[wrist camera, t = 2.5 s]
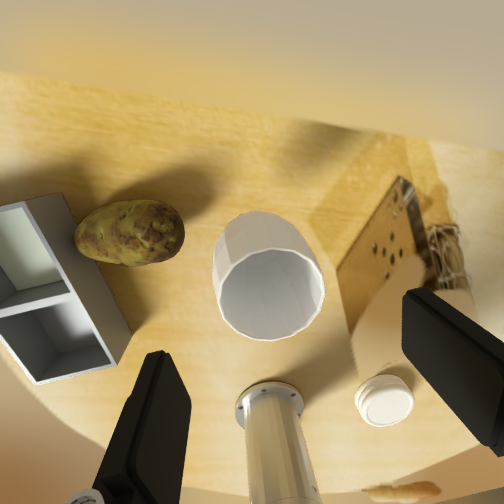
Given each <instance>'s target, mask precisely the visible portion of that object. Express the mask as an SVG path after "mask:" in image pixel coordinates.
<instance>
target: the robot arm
mask: <svg viewBox="0 0 504 504" xmlns="http://www.w3.org/2000/svg"><path fill="white" fill-rule="evenodd" d="M402 300H403V301H402V350H403V353H404V355H405V356H406V357H407V358H408V360H409V361H410V362H411V363H412V364H413V365H414V367H415V368H416V369H417V370H418V371H419V372H420V374H421V375H422V376H423V377H424V378H425V379H426V380H427V382H428V383H429V384H430V385H431V386H432V387H433V389H434V390H435V391H436V392H437V393H438V394H439V396H440V397H441V398H442V399H443V400H444V401H445V403H446V404H447V405H448V406H449V407H450V408H451V409H452V411H453V412H454V413H455V414H456V415H457V416H458V418H459V419H460V420H461V421H462V422H463V423H464V425H465V426H466V427H467V428H468V429H469V430H470V432H471V433H472V434H473V435H474V436H475V437H476V439H477V440H478V441H479V442H480V443H481V444H483V445H484V446H489V447H490V449H491V450H492V451H493V452H494V453H495V454H496V455H497V456H498V457H501V456H504V342H502V341H501V340H499V339H498V338H497V337H495V336H494V335H492V334H491V333H490V332H488V331H487V330H485V329H484V328H482V327H481V326H480V325H478V324H477V323H475V322H474V321H472V320H471V319H470V318H468V317H467V316H465V315H464V314H462V313H461V312H460V311H458V310H456V309H455V308H454V307H452V306H451V305H450V304H448V303H447V302H445V301H444V300H443V299H441V298H440V297H438V296H437V295H435V294H434V293H433V292H431V291H430V290H428V289H427V288H425V287H419V288H415V289H411V290H408V291H407V292H406V295H404V296H403V299H402ZM191 407H192V406H191V399H190V396H189V394H188V392H187V390H186V388H185V386H184V384H183V381H182V379H181V377H180V375H179V373H178V371H177V368H176V366H175V364H174V362H173V360H172V358H171V356H170V354H169V353H165V352H164V351H163V350H161V351H156V352H152V353H148V354H147V355H146V357H145V359H144V362H143V365H142V367H141V370H140V373H139V375H138V378H137V380H136V383H135V386H134V388H133V391H132V393H131V395H130V396H129V397H128V398H127V400H126V402H125V405H124V407H123V410H122V412H121V415H120V417H119V420H118V422H117V425H116V427H115V430H114V433H113V435H112V438H111V440H110V443H109V445H108V448H107V450H106V453H105V455H104V458H103V460H102V463H101V466H100V468H99V471H98V473H97V476H96V478H95V481H94V483H93V486H92V488H91V489H86V490H83V491H81V492H79V493H77V494H75V495H74V496H72V497H71V498H70V499H69V500H67V501H66V502H65V503H64V504H179V500H180V492H181V485H182V477H183V469H184V462H185V454H186V446H187V439H188V431H189V424H190V416H191ZM303 410H304V402H303V399H302V396H301V394H300V392H299V391H298V390H297V389H296V388H294V387H293V386H291V385H289V384H287V383H283V382H275V381H273V382H264V383H260V384H257V385H255V386H253V387H251V388H249V389H248V390H246V391H245V392H244V393H243V394H242V395H241V396H240V397H239V399H238V400H237V403H236V406H235V417H236V420H237V422H238V424H239V425H240V426H241V427H242V428H243V429H245V439H246V454H247V470H248V485H249V499H250V504H322V501H321V497H320V493H319V490H318V486H317V482H316V479H315V475H314V471H313V468H312V464H311V460H310V457H309V453H308V449H307V446H306V442H305V438H304V435H303V431H302V427H301V424H300V420H299V419H300V417H301V416H302V413H303ZM435 504H504V487H502V488H498V489H493V490H489V491H485V492H481V493H477V494H472V495H468V496H464V497H460V498H456V499H452V500H447V501H443V502H439V503H435Z"/></svg>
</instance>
